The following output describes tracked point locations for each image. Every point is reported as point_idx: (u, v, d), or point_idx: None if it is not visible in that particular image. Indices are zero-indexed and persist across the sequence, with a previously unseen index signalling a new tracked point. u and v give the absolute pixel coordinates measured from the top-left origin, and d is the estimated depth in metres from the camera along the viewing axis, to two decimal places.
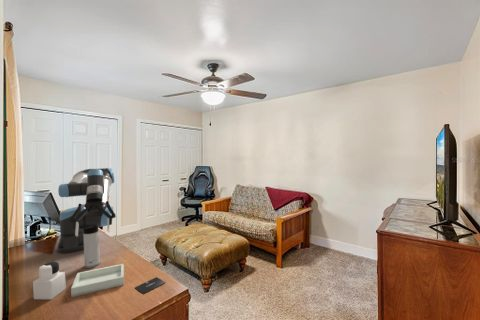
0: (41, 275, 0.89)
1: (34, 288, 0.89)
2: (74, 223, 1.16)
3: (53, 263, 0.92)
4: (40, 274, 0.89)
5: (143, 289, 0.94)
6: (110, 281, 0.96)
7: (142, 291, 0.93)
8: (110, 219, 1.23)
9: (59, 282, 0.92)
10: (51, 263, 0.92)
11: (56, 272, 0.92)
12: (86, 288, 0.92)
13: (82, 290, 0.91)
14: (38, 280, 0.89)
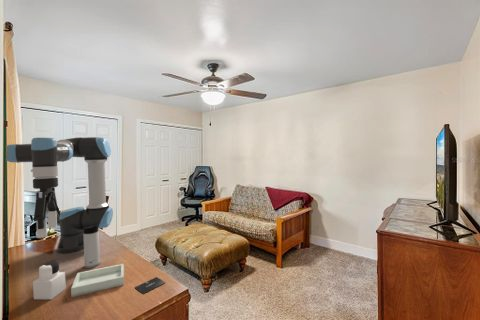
0: (41, 275, 0.89)
1: (34, 288, 0.89)
2: None
3: (53, 263, 0.92)
4: (40, 274, 0.89)
5: (143, 289, 0.94)
6: (110, 281, 0.96)
7: (142, 291, 0.92)
8: None
9: (59, 282, 0.92)
10: (51, 263, 0.92)
11: (56, 272, 0.92)
12: (86, 288, 0.92)
13: (82, 290, 0.91)
14: (38, 280, 0.89)
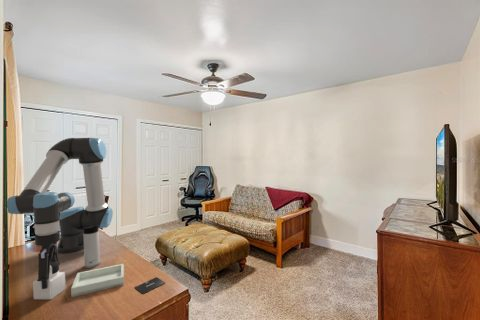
0: None
1: (34, 288, 0.89)
2: None
3: (53, 263, 0.92)
4: None
5: (143, 289, 0.94)
6: (110, 281, 0.96)
7: (142, 291, 0.92)
8: None
9: (59, 282, 0.92)
10: (51, 263, 0.92)
11: (56, 272, 0.92)
12: (86, 288, 0.92)
13: (82, 290, 0.91)
14: None
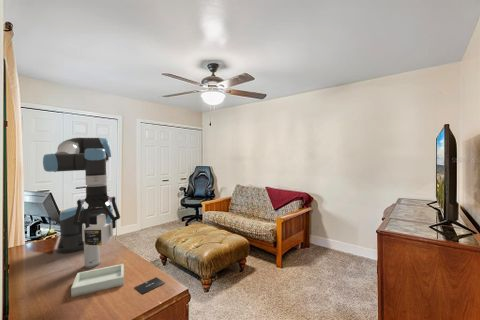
0: (104, 221, 0.98)
1: (102, 235, 0.96)
2: (80, 226, 0.95)
3: (97, 214, 1.00)
4: (102, 221, 0.98)
5: (143, 289, 0.94)
6: (110, 281, 0.96)
7: (141, 291, 0.92)
8: (113, 222, 1.01)
9: None
10: (96, 214, 0.99)
11: None
12: (86, 288, 0.92)
13: (82, 290, 0.91)
14: (102, 227, 0.97)
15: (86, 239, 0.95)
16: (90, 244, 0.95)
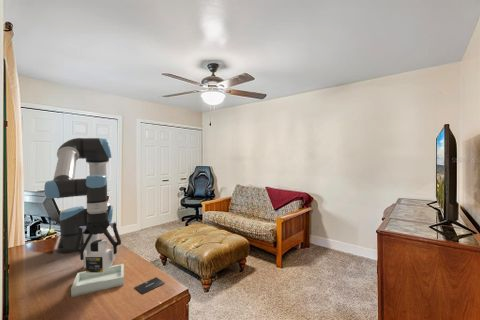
0: (105, 248, 0.98)
1: (103, 262, 0.96)
2: (81, 253, 0.96)
3: (99, 240, 1.00)
4: (103, 248, 0.98)
5: (142, 289, 0.94)
6: (110, 281, 0.96)
7: (141, 291, 0.92)
8: (115, 248, 1.01)
9: None
10: (98, 240, 0.99)
11: None
12: (86, 288, 0.92)
13: (82, 290, 0.91)
14: (103, 254, 0.97)
15: (87, 266, 0.96)
16: (91, 271, 0.96)
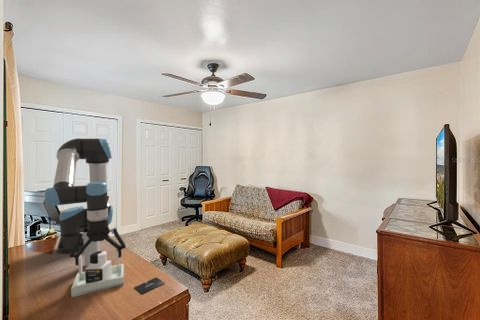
0: (104, 259, 0.99)
1: (103, 273, 0.96)
2: (76, 259, 0.95)
3: (98, 251, 1.00)
4: (103, 260, 0.98)
5: (142, 289, 0.94)
6: (110, 281, 0.96)
7: (141, 291, 0.92)
8: (119, 251, 1.02)
9: None
10: (97, 252, 1.00)
11: None
12: (86, 288, 0.92)
13: (82, 290, 0.91)
14: (103, 265, 0.98)
15: (87, 278, 0.96)
16: None
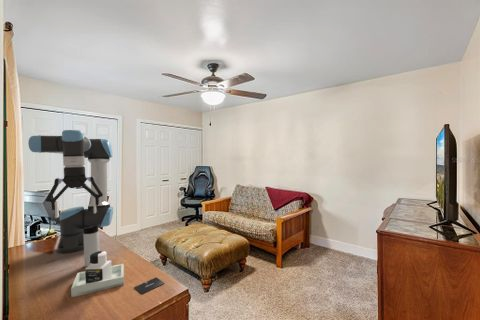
0: (104, 259, 0.99)
1: (103, 274, 0.96)
2: (52, 203, 0.97)
3: (98, 251, 1.00)
4: (103, 260, 0.98)
5: (142, 289, 0.94)
6: (110, 281, 0.96)
7: (141, 291, 0.92)
8: (96, 199, 1.05)
9: None
10: (97, 252, 1.00)
11: None
12: (86, 288, 0.92)
13: (82, 290, 0.91)
14: (103, 266, 0.98)
15: (87, 278, 0.96)
16: None
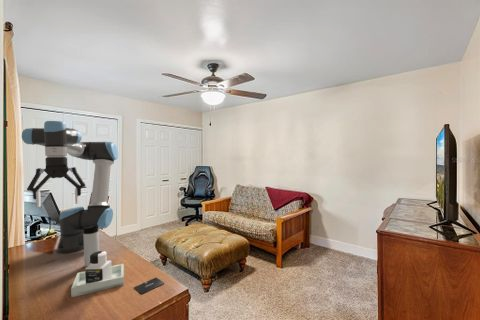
0: (104, 259, 0.99)
1: (103, 274, 0.96)
2: (34, 193, 0.99)
3: (98, 251, 1.00)
4: (103, 260, 0.98)
5: (142, 289, 0.94)
6: (110, 281, 0.96)
7: (140, 291, 0.92)
8: (78, 190, 1.06)
9: None
10: (97, 252, 1.00)
11: None
12: (86, 288, 0.92)
13: (82, 290, 0.91)
14: (103, 266, 0.98)
15: (87, 278, 0.96)
16: None
